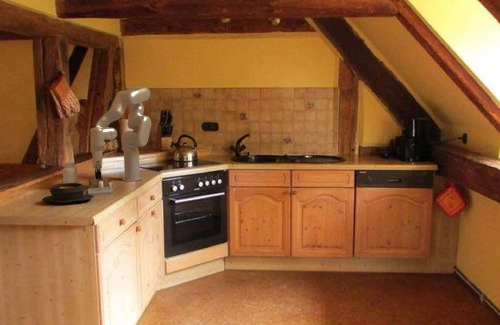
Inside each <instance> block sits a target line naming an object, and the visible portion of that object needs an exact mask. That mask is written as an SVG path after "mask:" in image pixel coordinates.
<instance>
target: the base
mask: <svg viewBox="0 0 500 325" xmlns="http://www.w3.org/2000/svg"><path fill="white" fill-rule="evenodd" d="M113 194H114V189H113V187H112V181H111V182H109V187H106V188H103V181H99V188H93V189H89V188H87V195H93V196H97V195H98V196H99V195H101V196H102V195H113Z"/></svg>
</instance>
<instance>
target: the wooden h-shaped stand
mask: <svg viewBox="0 0 500 325" xmlns="http://www.w3.org/2000/svg"><path fill="white" fill-rule="evenodd" d="M99 181H103V188H106V187H109V182H111V183H112V180H111V177H102V179H96V177H95V178H88V189H93V188H99Z"/></svg>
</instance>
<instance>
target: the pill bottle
mask: <svg viewBox="0 0 500 325" xmlns="http://www.w3.org/2000/svg"><path fill="white" fill-rule="evenodd" d="M75 164H76V163H75V162H65V163H64V168H62V179H63V180H62V184H63V183H79V177H78V176H79V175H78V169H77V167H76V166H75Z"/></svg>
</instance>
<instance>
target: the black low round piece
mask: <svg viewBox="0 0 500 325" xmlns="http://www.w3.org/2000/svg"><path fill="white" fill-rule="evenodd" d="M85 189H86V187H85V186H84V184H83V183H80V182H78V183H63V182H62V183H58V184H55V185H52V186H51V187H50V189H49V193H50V194H51V195H48V196H45V197H43V198H42V199H41V201H43V202H51V203H56V204H60V205H63V204H74V203H79V202H82V201H89V200H92V199H93V198H94V197H95V195H88V193H87V194H85V193H84V192H85Z"/></svg>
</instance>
